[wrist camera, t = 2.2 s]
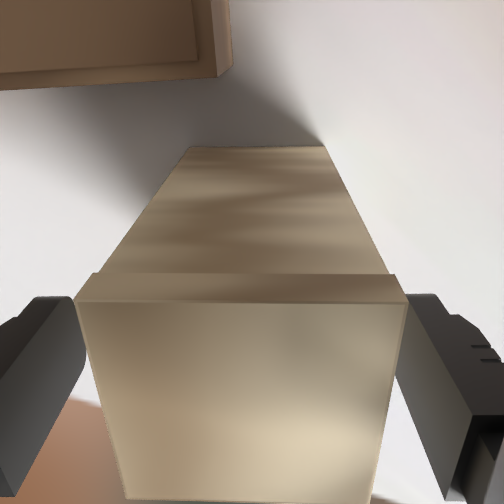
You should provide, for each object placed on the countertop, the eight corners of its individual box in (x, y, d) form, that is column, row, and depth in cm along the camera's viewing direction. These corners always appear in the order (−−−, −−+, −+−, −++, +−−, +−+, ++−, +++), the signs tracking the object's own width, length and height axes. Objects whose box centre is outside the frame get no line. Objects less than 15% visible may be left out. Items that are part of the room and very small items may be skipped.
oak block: (326, 144, 15) (408, 301, 6) (318, 266, 17) (369, 506, 8) (187, 146, 15) (73, 299, 6) (198, 265, 18) (126, 498, 9)
